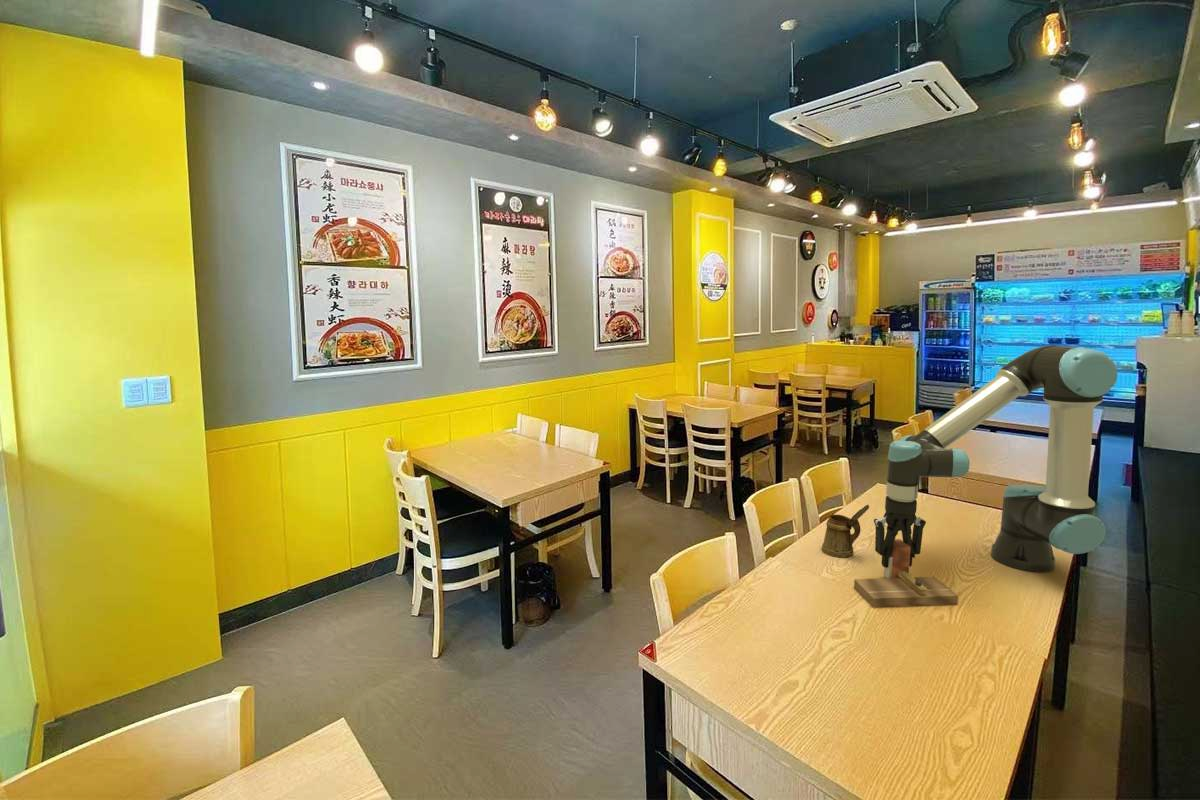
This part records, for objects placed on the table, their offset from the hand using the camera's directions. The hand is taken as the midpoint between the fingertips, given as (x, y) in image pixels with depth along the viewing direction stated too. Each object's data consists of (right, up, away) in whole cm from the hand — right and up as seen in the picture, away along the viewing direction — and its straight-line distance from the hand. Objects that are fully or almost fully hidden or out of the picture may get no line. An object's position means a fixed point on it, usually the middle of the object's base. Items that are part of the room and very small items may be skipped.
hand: (895, 577), depth 151 cm
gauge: (0, -2, -5) cm, 5 cm away
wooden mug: (-7, +1, +17) cm, 19 cm away
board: (-2, -3, -8) cm, 8 cm away
